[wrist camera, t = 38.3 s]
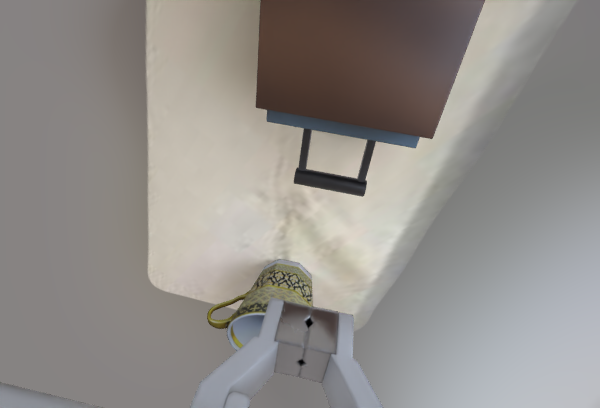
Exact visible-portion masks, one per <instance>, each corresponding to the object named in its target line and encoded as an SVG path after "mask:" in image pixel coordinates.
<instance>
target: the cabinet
mask: <svg viewBox="0 0 600 408" xmlns="http://www.w3.org/2000/svg"><path fill="white" fill-rule="evenodd" d="M484 2H485V0H261V3H260V25H259V48H258V70H257V92H256V108H260V109H266V110H272V111H277V112H283V113H288V114H294V115H300V116H305V117H311V118H317V119H322V120H328V121H334V122H339V123H345V124H351V125H356V126H362V127H368V128H373V129H379V130H384V131H390V132H396V133H401V134H407V135H413V136H418V137H424V138H430V139H432V138H433V136H434V133H435V131H436V128H437V125H438V123H439V120H440V117H441V115H442V112H443V110H444V107H445V104H446V102H447V99H448V96H449V94H450V91H451V89H452V86H453V83H454V81H455V78H456V75H457V73H458V70H459V67H460V65H461V62H462V60H463V57H464V54H465V52H466V49H467V46H468V44H469V41H470V38H471V36H472V33H473V31H474V28H475V25H476V23H477V20H478V17H479V15H480V12H481V9H482V7H483V4H484Z"/></svg>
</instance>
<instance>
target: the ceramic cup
mask: <svg viewBox="0 0 600 408" xmlns="http://www.w3.org/2000/svg"><path fill="white" fill-rule="evenodd" d="M271 297H272V298H277V299H281V300H285V301H289V302H294V303H298V304H302V305H306V306H310V307H311V306H313V302H312V277H311V275H310V274H309V273H308V272H307V271H306V270H305V269H304V268H303V266H302V265H301V264H300V263H297V262H292V261H286V260H281V259H279V260H277V261H275V262H273V263H271V264H269V265H267V266H265V267H264V269H263V270H262V272H261V274H260V276H259V277H258V279H257V280H256V282H255V283H254V285H253V287H252V288H251V290H249V291H248V292H247V293H246V294H244V295H241V296H238V297H236V298H234V299H232V300H229V301H226V302H223V303H220V304H217V305H215V306H214V307H212V308H211V309H210V310H209V312H208V316H207V319H208V322H209V324H210V325H211V326H213V327H215V328H218V329H224V328H227V337H228V340H229V342H230V344H231V345H232V346H233V348H234V349H235V350H236V351H238V350H239V349H240V348H241V347H242V346H243V345H245V344H246V343H247V342H248V341H249V340H251V339H252V338H253V337H258V336H259V333H260V329H261V326H262V323H263V320H264V316H265V313H266V310H267V307H268V303H269V300H270V299H271ZM243 299H244V301H243V302H242V304H241V305H240V307H239V308H238V310H237V311H236V313H234V314H233V315H232V316H231V317H230V318H228V319H224V320H214V319H211V314H212V312H213V311H215V310H216V309H219V308H222V307H225V306H228V305H231V304H233V303H235V302H237V301H239V300H243Z"/></svg>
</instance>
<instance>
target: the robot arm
mask: <svg viewBox="0 0 600 408" xmlns="http://www.w3.org/2000/svg"><path fill="white" fill-rule="evenodd" d="M353 324H354V318H353V315H350V314H345V313H340V312H339V313H338V311H333V310H328V309H323V308H318V307H313V306H311V307H310V306H306V305H302V304H298V303H294V302H289V301H285V300H281V299H277V298H272V297H271V299H270V300H269V303H268V307H267V310H266V313H265V316H264V320H263V323H262V326H261V329H260V333H259V336H258V337H253V338H252V339H251V340H249V341H248V342H247V343H246V344H245V345H243V346H242V347H241V348H240V349H239V350H238V351H236V352H235V353H234V354H233V355H232V356H230V357H229V358H228V359H227V360H226V361H225V362H224V363H222V364H221V365H220V366H219V367H217V368H216V369H215V370H214V371H213V372H211V373H210V374H209V375H208V376H207V377H206V378H205V379H203V380H202V381H201V382H200V384H199V387H198V389H197V391H196V394H195V396H194V399H193V401H192V403H191V406H190V408H249V405H250V400H251V399H252V398H253V397H254V396H255V394H256V393H257V392H258V391H259V390H260V389H261V388H262V387H263V386H264V384H265V383H266V382H267V381H268V380H269V379H270V378H271V377H272V375H273V374H274V372H276V373H281V374H286V375H291V376H296V377H300V378H304V379H308V380H312V381H315V382H320V383H322V386H323V389H324V392H325V394H326V397H327V400H328V402H329V405H330V408H383V406H382V404H381V402H380V401H379V399H378V397H377V395H376V393H375V392H374V390H373V388H372V386H371V384H370V383H369V381H368V379H367V377H366V375H365V374H364V372H363V370H362V368H361V366H360V365H359V363H358V361H357V360H356V359H353ZM0 408H103V407H99V406H95V405H90V404H86V403H83V402H79V401H75V400H71V399H67V398H63V397H59V396H54V395H51V394H46V393H42V392H38V391H34V390H30V389H26V388H22V387H18V386H14V385H10V384H6V383H2V382H0Z"/></svg>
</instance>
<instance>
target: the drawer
mask: <svg viewBox="0 0 600 408" xmlns="http://www.w3.org/2000/svg"><path fill="white" fill-rule="evenodd" d="M267 122H272V123H278V124H283V125H289V126H295V127H300V128H304V132H303V139H302V147H301V154H300V161H299V168H297V169H296V172H295V177H294V183H295V184H300V185H305V186H310V187H315V188H320V189H326V190H331V191H336V192H341V193H347V194H352V195H357V196H362V197H363V196H364V194H365V190H366V185H367V181H366V180H365V179H366V175H367V171H368V168H369V164H370V161H371V157H372V153H373V150H374V146H375V142H376V141H378V142H384V143H389V144H395V145H400V146H406V147H412V148H416V146H417V143H418V140H419V137H418V136H413V135H407V134H401V133H396V132H390V131H384V130H379V129H373V128H368V127H362V126H356V125H351V124H345V123H339V122H334V121H328V120H322V119H317V118H311V117H305V116H300V115H294V114H288V113H283V112H277V111H272V110H267ZM312 130H317V131H322V132H328V133H334V134H339V135H345V136H350V137H356V138H361V139H367V143H366V147H365V151H364V155H363V159H362V162H361V166H360V170H359V174H358V179H356V178H351V177H346V176H340V175H335V174H330V173H324V172H319V171H314V170H308V169H306V167H307V160H308V153H309V147H310V140H311V133H312Z"/></svg>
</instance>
